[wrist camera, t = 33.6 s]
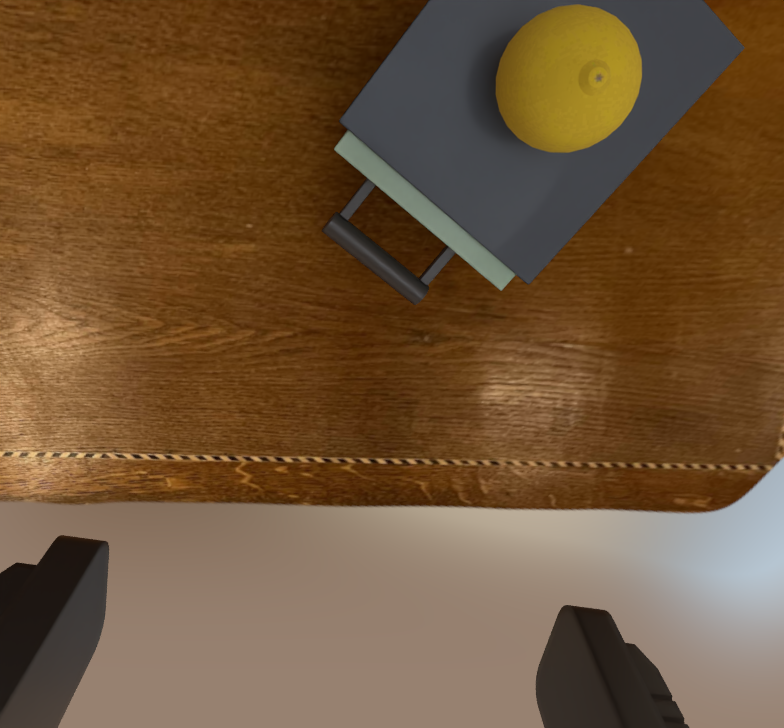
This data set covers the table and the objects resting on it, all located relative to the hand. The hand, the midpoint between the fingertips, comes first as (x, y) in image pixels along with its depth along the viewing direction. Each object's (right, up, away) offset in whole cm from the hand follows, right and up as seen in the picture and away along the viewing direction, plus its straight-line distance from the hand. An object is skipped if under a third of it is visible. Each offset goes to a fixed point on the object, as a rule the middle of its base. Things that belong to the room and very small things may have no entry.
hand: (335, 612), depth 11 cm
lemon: (+8, +18, +19) cm, 27 cm away
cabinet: (+7, +21, +28) cm, 36 cm away
